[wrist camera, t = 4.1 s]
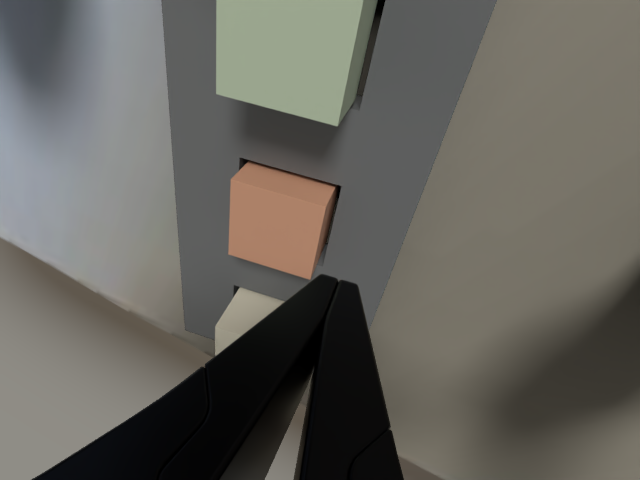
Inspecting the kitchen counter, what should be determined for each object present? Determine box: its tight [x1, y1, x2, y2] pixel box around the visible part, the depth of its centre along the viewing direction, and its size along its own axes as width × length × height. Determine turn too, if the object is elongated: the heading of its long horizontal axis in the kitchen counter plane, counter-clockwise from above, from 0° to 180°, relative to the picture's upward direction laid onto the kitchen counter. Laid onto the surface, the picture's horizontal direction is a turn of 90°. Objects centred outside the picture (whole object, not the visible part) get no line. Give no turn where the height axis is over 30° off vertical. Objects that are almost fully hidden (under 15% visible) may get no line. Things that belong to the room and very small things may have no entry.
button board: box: [162, 0, 497, 371], centre depth 20 cm, size 12×24×2 cm, turn 169°
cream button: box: [215, 287, 285, 356], centre depth 23 cm, size 4×4×3 cm
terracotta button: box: [228, 160, 339, 280], centre depth 19 cm, size 4×4×3 cm
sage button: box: [216, 0, 378, 126], centre depth 13 cm, size 4×4×3 cm
